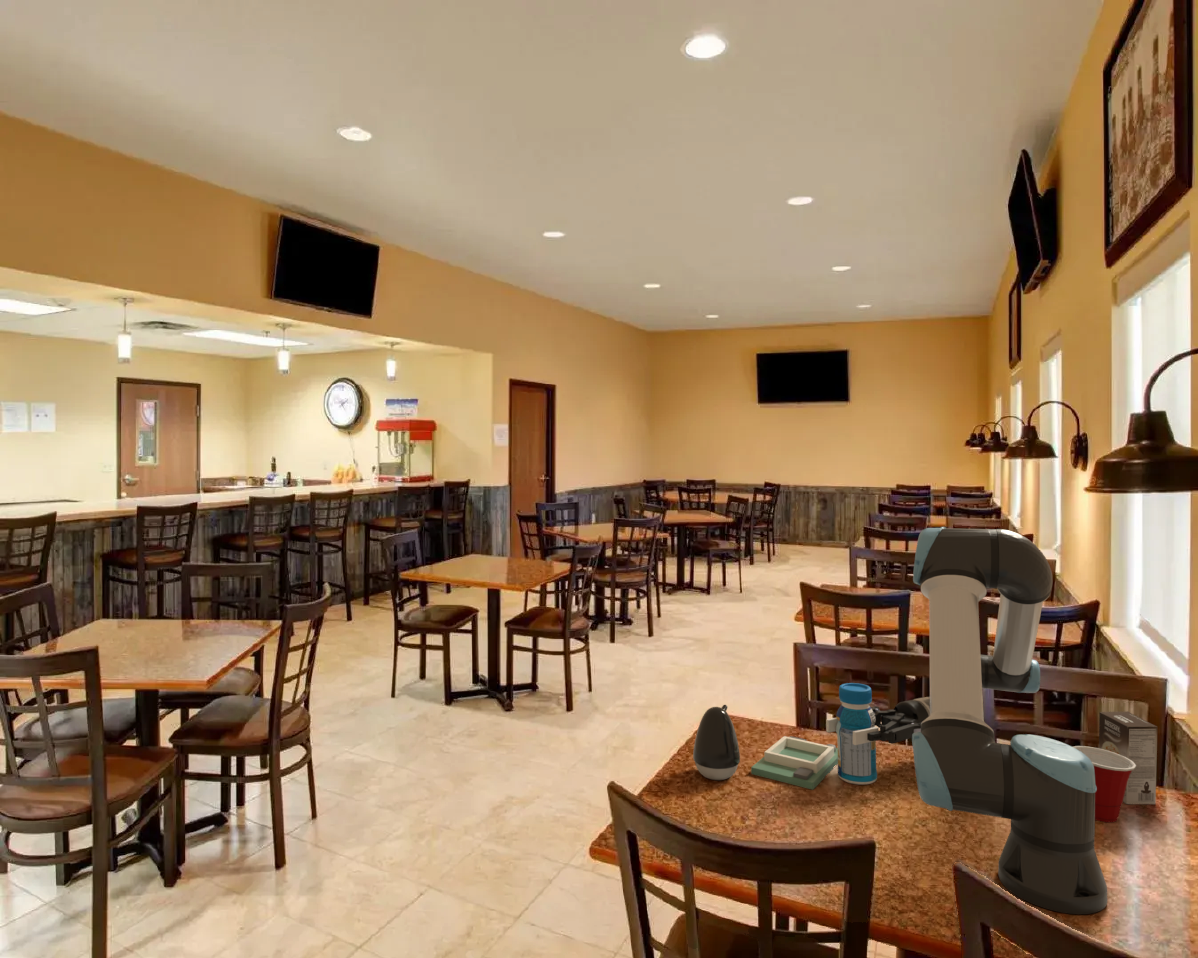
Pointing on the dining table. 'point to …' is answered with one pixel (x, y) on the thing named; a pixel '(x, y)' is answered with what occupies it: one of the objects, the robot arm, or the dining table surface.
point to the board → (797, 762)
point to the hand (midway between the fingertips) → (840, 731)
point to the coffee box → (1132, 752)
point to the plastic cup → (1108, 781)
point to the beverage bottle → (852, 716)
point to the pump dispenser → (716, 745)
